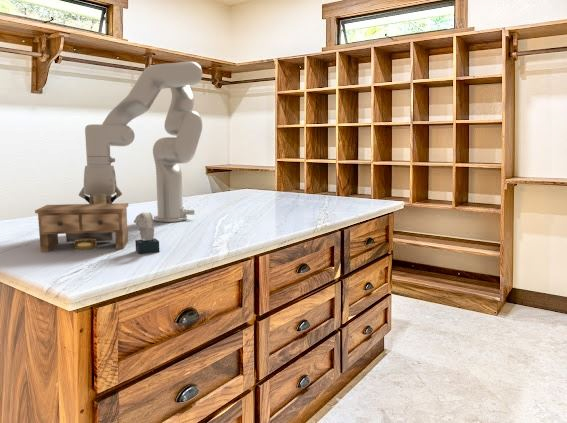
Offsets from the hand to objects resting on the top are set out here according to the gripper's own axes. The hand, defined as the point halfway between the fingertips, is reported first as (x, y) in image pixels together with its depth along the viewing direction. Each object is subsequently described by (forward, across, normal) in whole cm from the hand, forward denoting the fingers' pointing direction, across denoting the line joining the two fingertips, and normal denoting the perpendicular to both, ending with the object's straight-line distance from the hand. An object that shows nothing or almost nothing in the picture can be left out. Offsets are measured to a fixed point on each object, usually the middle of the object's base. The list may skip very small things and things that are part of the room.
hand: (101, 214), depth 163 cm
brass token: (+6, 0, +26) cm, 27 cm away
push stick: (+5, 0, +9) cm, 10 cm away
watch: (+6, -18, +34) cm, 39 cm away
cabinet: (+5, 0, +25) cm, 26 cm away
